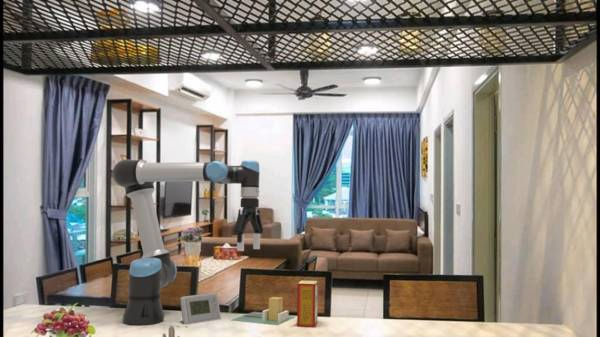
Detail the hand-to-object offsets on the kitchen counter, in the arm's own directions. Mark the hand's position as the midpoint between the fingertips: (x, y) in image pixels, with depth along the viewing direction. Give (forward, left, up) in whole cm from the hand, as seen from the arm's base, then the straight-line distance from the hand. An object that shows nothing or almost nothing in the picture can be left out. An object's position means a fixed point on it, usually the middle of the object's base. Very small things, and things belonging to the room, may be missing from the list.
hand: (248, 250), depth 198 cm
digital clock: (-10, -19, -27) cm, 34 cm away
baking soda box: (+27, -2, -27) cm, 38 cm away
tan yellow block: (+15, -5, -25) cm, 30 cm away
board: (+10, -5, -27) cm, 29 cm away
